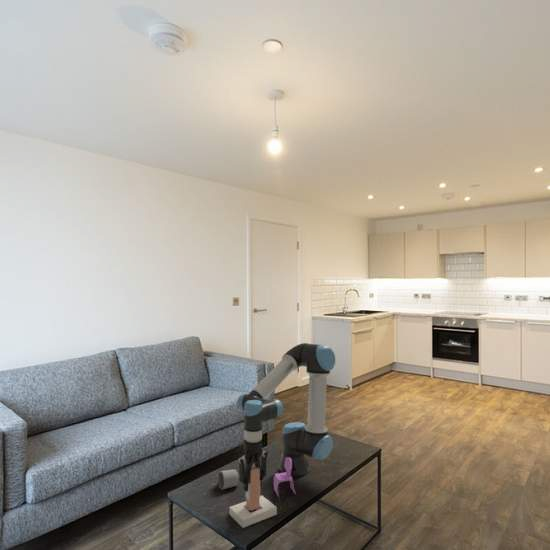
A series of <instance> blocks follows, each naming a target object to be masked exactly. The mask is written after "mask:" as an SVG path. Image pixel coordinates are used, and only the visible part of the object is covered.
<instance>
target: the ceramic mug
mask: <svg viewBox="0 0 550 550" xmlns="http://www.w3.org/2000/svg"><path fill="white" fill-rule="evenodd" d="M217 480H218V485H219V488H220V489H221V490H222V491H223V490H226V489H230V488H233V487H236V486H238V485H239V484H240V480H239V471H237V469H228V470H221V471H219V472H218V476H217Z"/></svg>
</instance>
